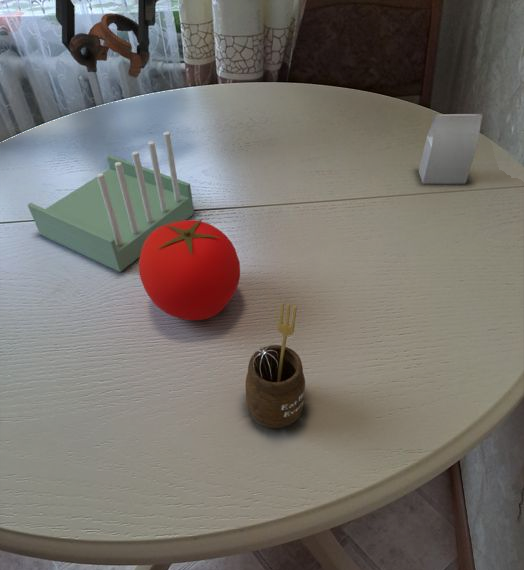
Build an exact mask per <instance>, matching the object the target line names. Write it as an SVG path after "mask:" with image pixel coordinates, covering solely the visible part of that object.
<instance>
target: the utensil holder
mask: <svg viewBox="0 0 524 570" xmlns="http://www.w3.org/2000/svg"><path fill="white" fill-rule="evenodd" d="M291 307H292V305H291V304H290V303H287V305H286V311H285V318H284V310H285V302H284V301H282V302H280V307H279V314H278V316H279V317H278V323H277V331H278V332H279V333H280V334H281V335H282V340H281V344H270V345H266V346H263V347H262V346H260V347H259V349H258V350H255V351H254V352H253V353H252V355H251V357H250V359H249V362H248V367H247V374H246V376H245V396H246V406H247V410H248V413H249V416H251V418H252V419H253V420H254V421H255V422H256V423H257V424H258V425H261V426H263V427H266V428H268V429H281V428H286V427H288V426H291V425H292V424H293V423H295V422H296V421H297V420H298V419H299V418H300V416H301V414H302V412H303V410H304V406H305V405H304V404H305V395H306V378H305V374H304V368H303V363H302V359H301V357H300V356H299V354H298V353H297V352H296V351H294V350H293V349H292V348H290V347H288V346H287V345H286V344H287V337H288V336H291V335H293V334H294V332H295V325H296V318H297V310H298V306H297V305H293V308H292V313H291ZM290 313H291V314H292V315H291V321H290ZM283 319H284V322H283ZM289 322H290V324H289Z"/></svg>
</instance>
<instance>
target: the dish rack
mask: <svg viewBox="0 0 524 570" xmlns="http://www.w3.org/2000/svg"><path fill="white" fill-rule="evenodd" d="M163 138H164V143H165V145H164V146H165V150H166V156H167V162H168V167H169V172H170V175H167V174H164V173H161V170H160V169H161V168H160V163H159V160H158V153H157V148H156V143H155V141H153V140H152V141H151V140H150V141H148V143H147V145H148V149H149V154H150V155H149V156H150V159H151V166H152V169H150V168H147V167H144V166H142V163H141V158H140V154H139V152H138V151H137V150H135V151H132V152H131V156H132V160H133V162H131V161H128V160H125V159H122V158H120V157H117V156H114V155H111V154H109V155H107V156H106V159H107V162H108V165H109V168H108V169H107V170H105V171H103V172H99V173H97V174H96V177H94V178H92V179H91V180H89V181H88V182H86V183H83V185H81V186H80V187H78V188H76V189H74V190H73V191H72V192H70V193H69V194H67V195H65V196H63V197H62V198H61V199H59V200H57V201H56V202H54V203H53V204H51V205H49V206H47V207H46V208H44V207H41V206H39V205H37V204H35V203H33V202H29V203H27V207H28V210H29V212H30V214H31V217H32V219H33V221H34V224H35V226H36V228H37V231H38V233H39V235H40V236H43V237H45V238H47V239H49V240H51V241H53V242H56V243H57V244H60V245H61V246H64V247H66V248H68V249H70V250H72V251H74V252H76V253H78V254H81V255H83V256H86V257H87V258H89V259H90V260H93V261H96V262H98V263H99V264H102V265H103V266H106V267H108V268H110V269H112V270H114V271H116V272H119V273H121V272H123V271H124V270H125V269H126V268H128V267H129V266H130V265H131V264H133V263H134V262H136V261H137V260H139V259H140V255H141V251H142V247H143V245H144V243H145V241H146V239H147V238H148V236H149V235H150V234H151V233H152V232H153V231H154V230H155V229H157V228H159V227H161V226H164V225H166V224H170V223H174V222H178V221H184V220H189V218H190V217H192V216H193V215H194V214H195V210H194V209H195V207H194V202H193V195H192V188H191V183H189V182H186V181H185V180H181V179H178V176H177V169H176V162H175V157H174V151H173V144H172V138H171V133H170V132H169V131H164V132H163Z"/></svg>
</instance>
